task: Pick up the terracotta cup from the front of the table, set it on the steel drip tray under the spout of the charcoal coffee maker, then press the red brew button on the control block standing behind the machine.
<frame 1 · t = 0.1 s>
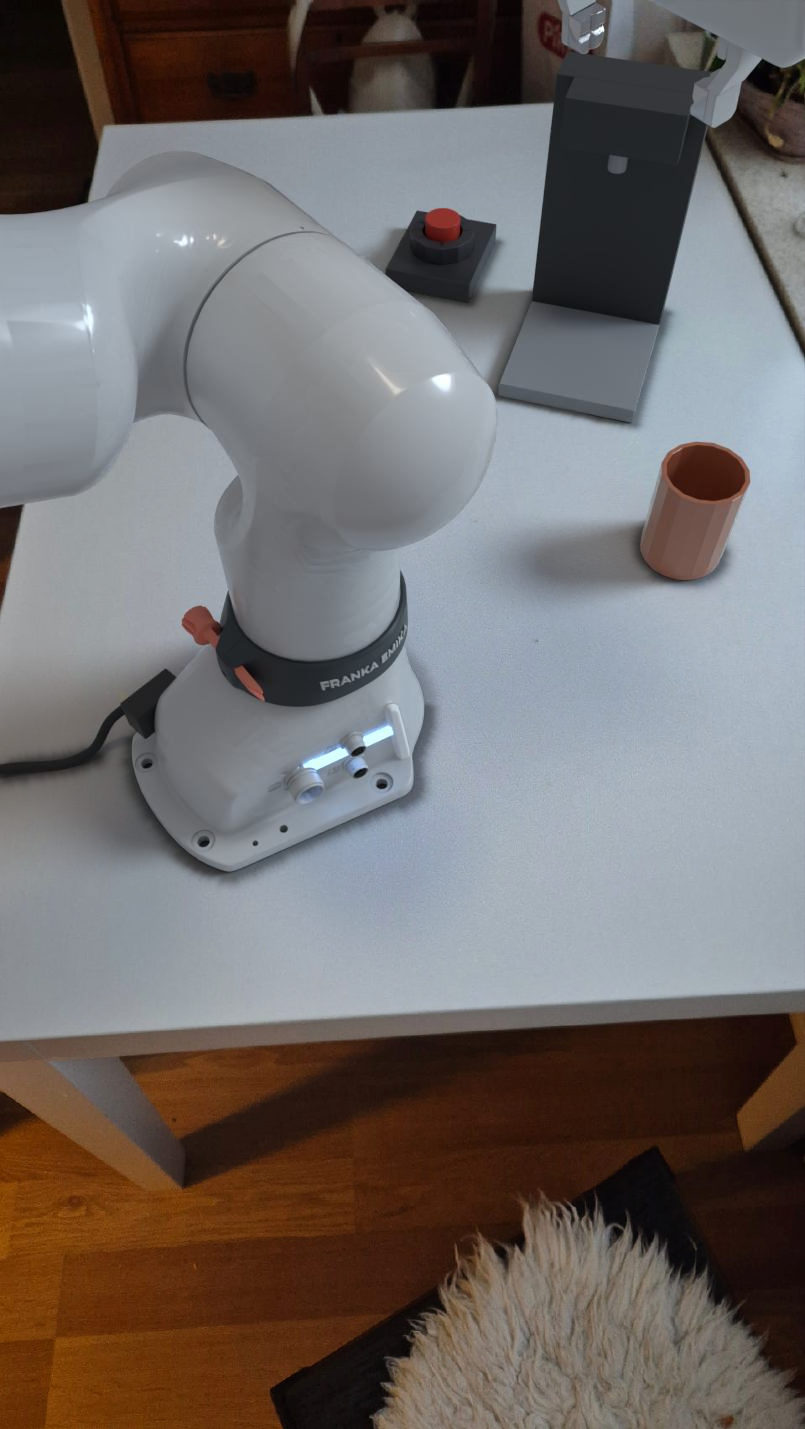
hand: (644, 80, 53), 39 cm above the table, tool pointing down, fingers open, 8 cm apart
control block: (441, 265, 108), on the table
coffee maker: (583, 353, 100), on the table
brew button: (442, 225, 104), point 4 cm above the table, slide at 0.1 cm
cup: (680, 549, 86), on the table
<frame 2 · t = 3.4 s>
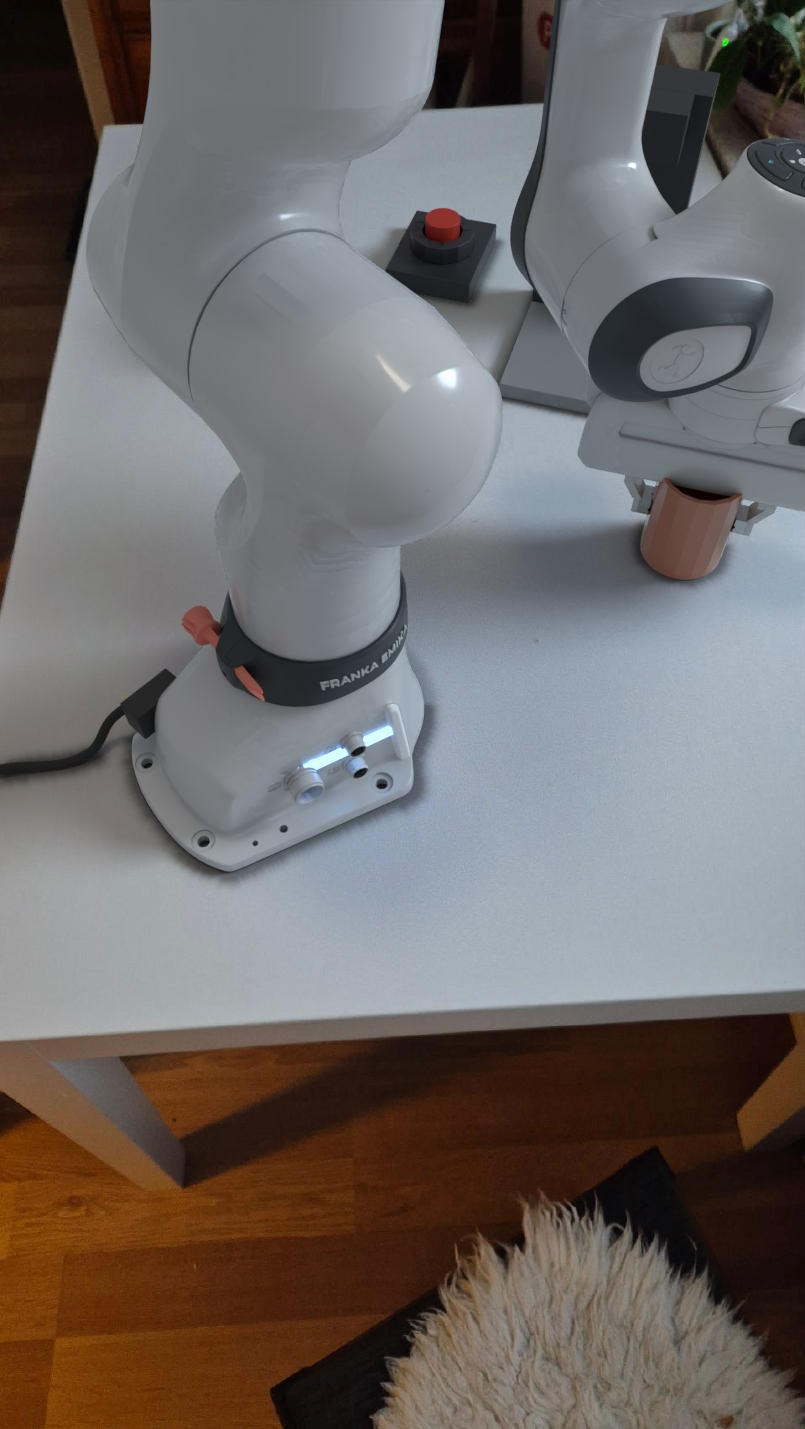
hand: (690, 518, 83), 4 cm above the table, tool pointing down, fingers closed on cup, 7 cm apart
cup: (680, 549, 86), on the table, touching gripper
everything else where it was.
when the fingers open (5 cm above the table, at t = 13.0 s): cup stays where it is, resting on coffee maker.
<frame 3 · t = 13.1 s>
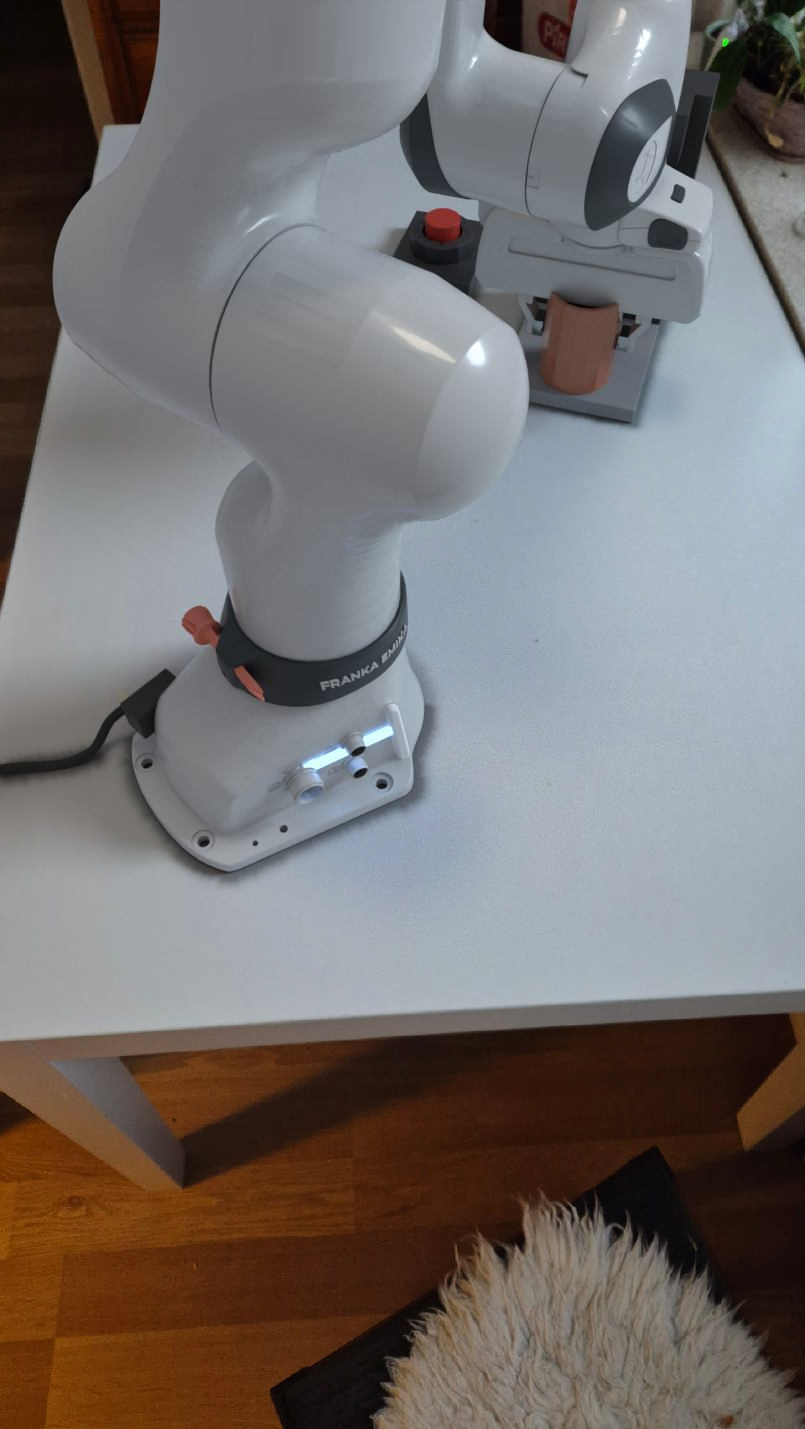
hand: (580, 339, 94), 5 cm above the table, tool pointing down, fingers open, 7 cm apart
cup: (574, 370, 96), point 2 cm above the table, touching coffee maker
everything else where it was.
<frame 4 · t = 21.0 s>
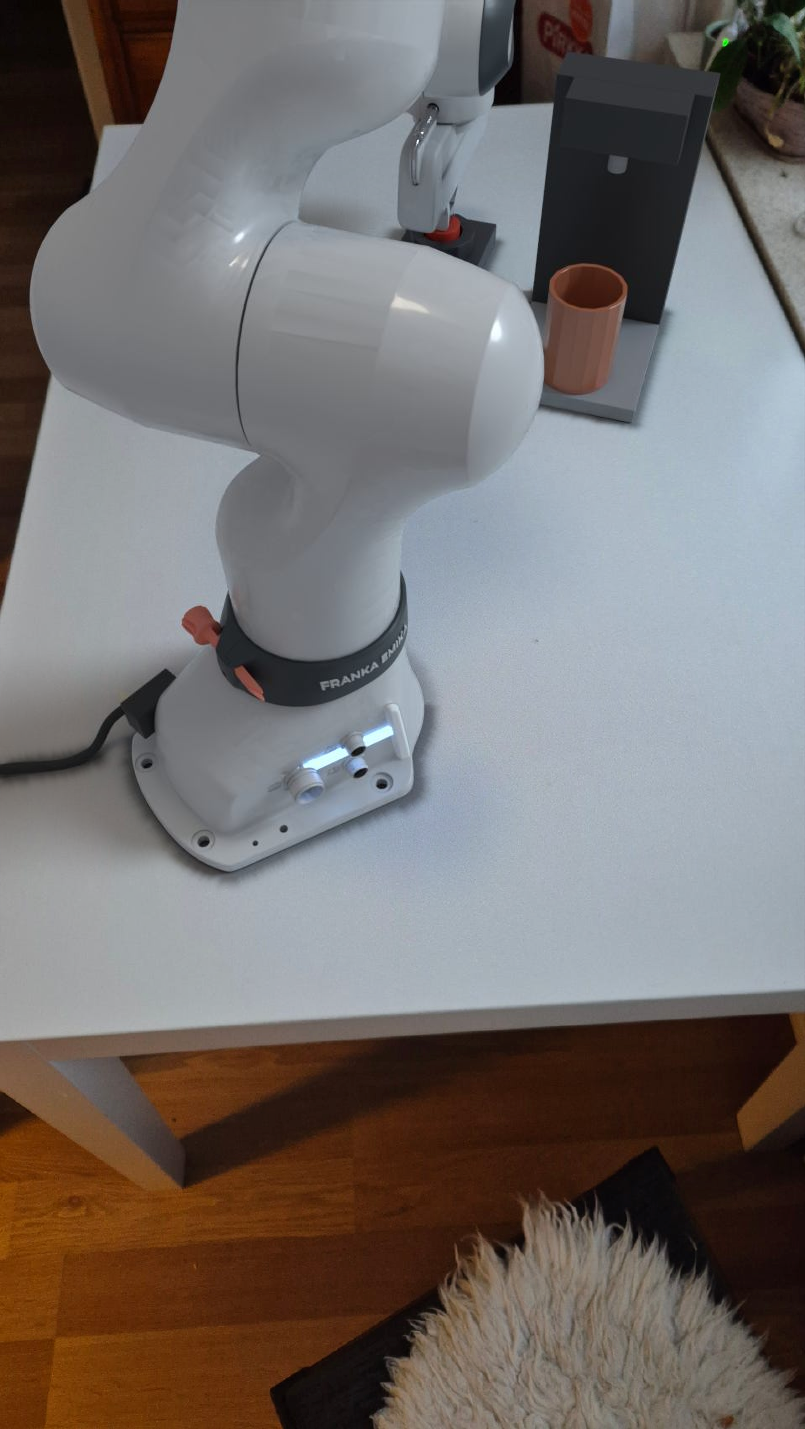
hand: (443, 222, 104), 5 cm above the table, tool pointing down, fingers closed, pressing on brew button
brew button: (442, 231, 105), point 4 cm above the table, slide at -0.5 cm, touching gripper
everything else where it was.
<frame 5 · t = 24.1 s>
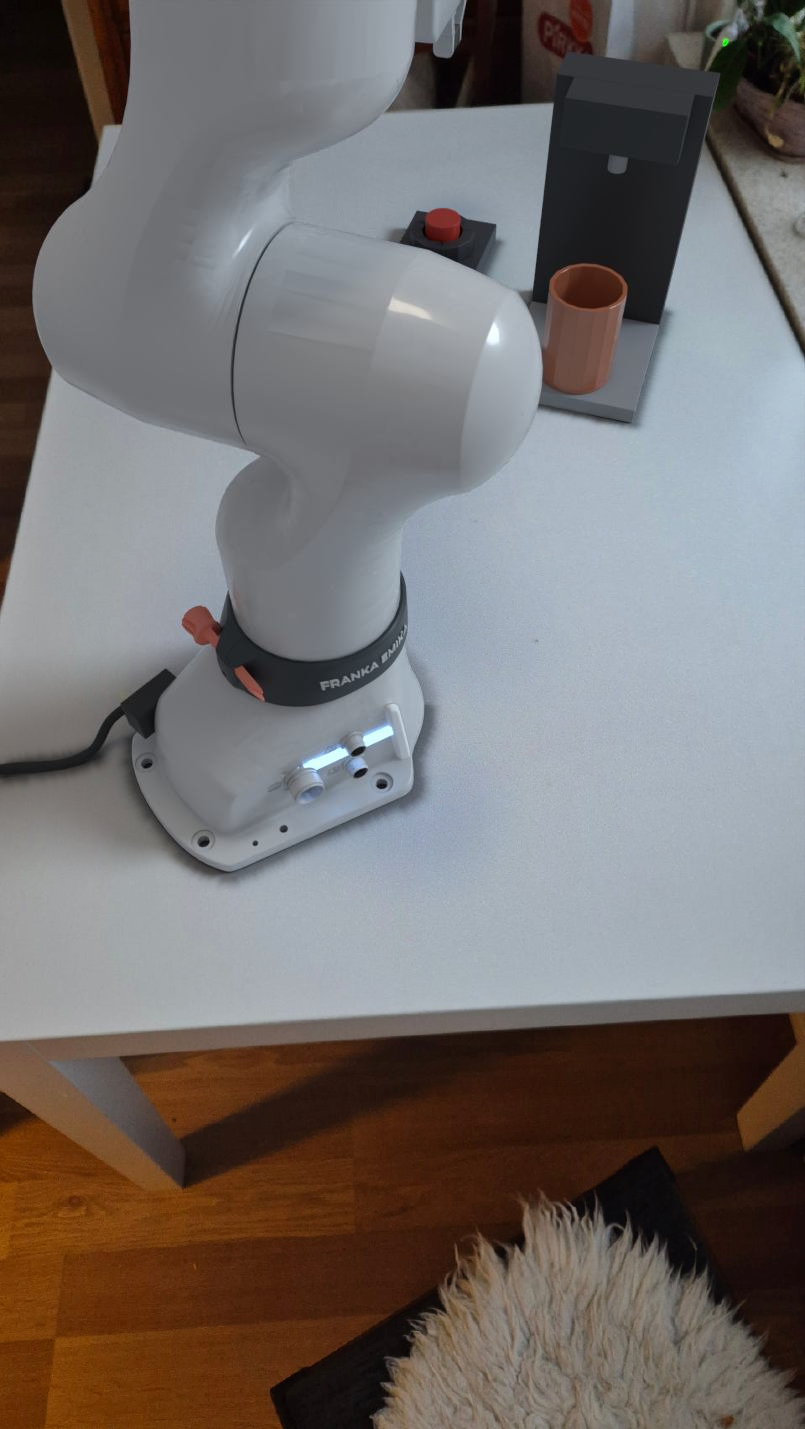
hand: (447, 50, 90), 21 cm above the table, tool pointing down, fingers closed
brew button: (442, 225, 104), point 4 cm above the table, slide at 0.1 cm
everything else where it was.
at the end: cup 0.1 cm from the target spot on the coffee maker, point 1.5 cm above the coffee maker's base; cup tilted 0°; brew button pushed in 1.0 cm at the most during the clip, back to where it started at the end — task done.
